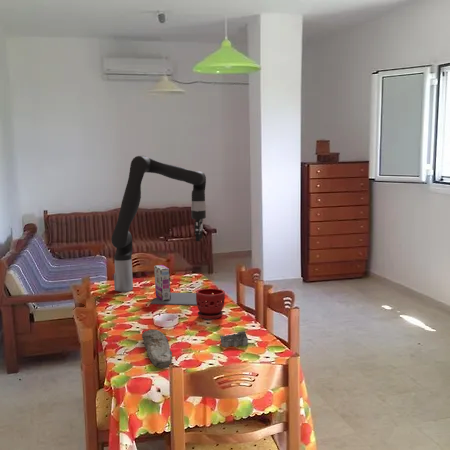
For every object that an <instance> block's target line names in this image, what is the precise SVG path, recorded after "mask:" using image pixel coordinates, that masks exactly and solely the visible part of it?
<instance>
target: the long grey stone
mask: <svg viewBox="0 0 450 450" xmlns="http://www.w3.org/2000/svg"><path fill="white" fill-rule="evenodd" d="M141 338H142V342H143V344H144V347H145V350H146V353H147V356H148V358H149V360H150V362H151V364H152V365H153V366H155V367H156V368H160V369H165V368H166V369H167V368H170V366H169V364H172V362H173V352H172V350H171V348H170V344H169V339H168V338H167V337H166V335H165V334H164V332H162V331H160V330H159V329H148V330H145V331H143V332H142V334H141Z"/></svg>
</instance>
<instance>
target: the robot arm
mask: <svg viewBox="0 0 450 450" xmlns="http://www.w3.org/2000/svg"><path fill="white" fill-rule="evenodd" d="M128 173H129V174H128V179H127V182H126V187H125V189H124V193H123V196H122V200H121V204H120V210H119V213H118V217H117V222H116V224H115V227H114V230H113V233H112V234H111V244H112V246H113V247H114V248H116V250H115V253H114V257H113V258H114V273H113V284H114V291H115V292H121V293H122V292H130V291H133V290H134V285H133V283H134V282H133V280H134V279H133V263H132V260H133V259H132V254H133V236H132V234H131V232H130V231H129V230H130V227H131V224H132V222H133V220H134V218H135V217H136V215H137V213H138V210H139V207H140V203H141V198H142V191H141V190H142V187H141V186H142V181H143V179H144V175H145V173H151V174H158V175H160V176H164V177H165V178H169V179H172V180H175V181H180V182H185V183H187V184H190V185H192V190H191V205H190V207H191V209H190V210H191V219H192V220H195V221H194V234H195V242H200V241H201V239H203V230H204V222H203V221H204V219H206V217H207V216H206V211H207V210H206V207H207V206H206V185H207V177H206V176H207V175H206V174H205V172H203V171H201V170H200V171H196V170H191V169H188V168H185V167H182V166H179V165H178V166H177V165H173V164H169V163H164V162H160V161H157V160H155V159H153V158H150V157H147V156H146V155H137V156H135V157H133V158H132V159H131V162H130V167H129V172H128Z"/></svg>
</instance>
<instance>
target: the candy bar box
mask: <svg viewBox="0 0 450 450" xmlns="http://www.w3.org/2000/svg"><path fill="white" fill-rule="evenodd" d="M153 268H154V282H155V283H154V284H155V285H154V286H155V287H154V288H155V298H156V297H158V298H159V299H160V300H162V301H166V300H171V292H172V291H171V278H170V277H171V276H170V275H171V273H170V268H169V267H167V266H165V265H164V264H159V265H158V264H157V265H154V266H153Z"/></svg>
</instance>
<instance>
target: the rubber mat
mask: <svg viewBox="0 0 450 450" xmlns="http://www.w3.org/2000/svg"><path fill="white" fill-rule="evenodd" d="M170 292H171V300H166V301H162V300H160V299H159V298H158V297H156V296H155V298H154V299H153V300H152V301H151V302H150V305H169V306H171V305H172V306H174V305H175V306H197V302H196V292H172V291H170Z"/></svg>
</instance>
